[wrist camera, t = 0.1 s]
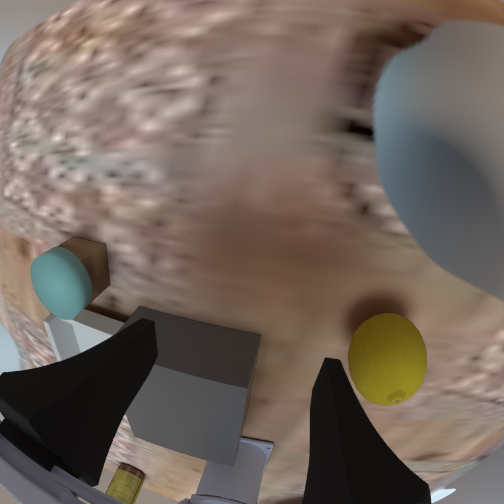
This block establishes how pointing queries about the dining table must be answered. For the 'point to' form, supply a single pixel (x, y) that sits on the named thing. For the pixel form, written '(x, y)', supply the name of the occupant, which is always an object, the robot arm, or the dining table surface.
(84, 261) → the walnut block
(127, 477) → the sauce bottle
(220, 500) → the robot arm
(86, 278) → the teal round puck
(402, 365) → the lemon
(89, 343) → the tray
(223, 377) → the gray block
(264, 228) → the dining table surface
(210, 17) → the dining table surface
